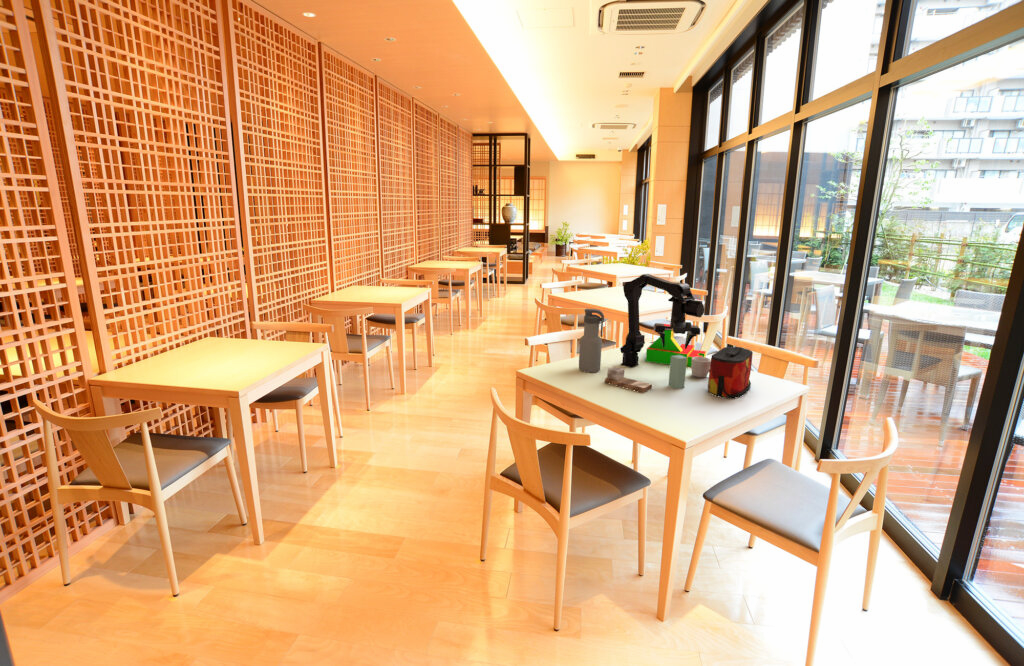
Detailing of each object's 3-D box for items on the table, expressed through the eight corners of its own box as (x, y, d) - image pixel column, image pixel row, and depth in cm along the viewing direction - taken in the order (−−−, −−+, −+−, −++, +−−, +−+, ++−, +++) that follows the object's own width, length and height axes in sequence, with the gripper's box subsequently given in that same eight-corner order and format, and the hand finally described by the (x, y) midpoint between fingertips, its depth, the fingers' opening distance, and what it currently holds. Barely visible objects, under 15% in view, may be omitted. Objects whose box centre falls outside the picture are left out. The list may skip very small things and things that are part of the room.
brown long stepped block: (604, 382, 223) (605, 369, 221) (613, 379, 228) (614, 365, 226) (643, 393, 211) (644, 378, 209) (651, 389, 216) (652, 375, 214)
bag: (724, 376, 234) (728, 341, 230) (757, 383, 226) (762, 346, 222) (701, 394, 211) (705, 355, 207) (737, 402, 203) (742, 361, 199)
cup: (712, 374, 237) (714, 357, 235) (717, 379, 229) (719, 362, 228) (688, 373, 238) (689, 356, 236) (692, 378, 230) (693, 361, 229)
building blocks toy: (699, 369, 245) (703, 331, 240) (645, 361, 256) (648, 325, 252) (705, 360, 261) (709, 323, 256) (655, 352, 272) (657, 318, 268)
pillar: (668, 385, 220) (670, 355, 217) (676, 384, 222) (679, 354, 219) (675, 389, 216) (678, 358, 213) (684, 387, 218) (687, 357, 215)
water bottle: (600, 367, 244) (604, 308, 238) (601, 373, 235) (604, 312, 228) (578, 366, 246) (581, 307, 239) (578, 372, 236) (581, 311, 230)
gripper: (658, 315, 218) (655, 351, 222) (705, 318, 216) (700, 354, 219) (655, 310, 229) (651, 344, 232) (699, 312, 226) (695, 347, 230)
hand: (674, 348), depth 228 cm, fingers open, 9 cm apart
